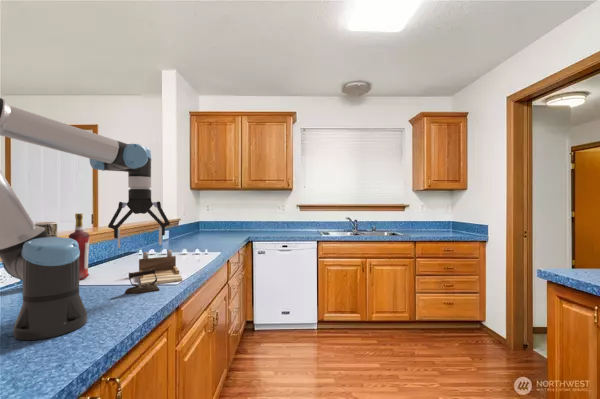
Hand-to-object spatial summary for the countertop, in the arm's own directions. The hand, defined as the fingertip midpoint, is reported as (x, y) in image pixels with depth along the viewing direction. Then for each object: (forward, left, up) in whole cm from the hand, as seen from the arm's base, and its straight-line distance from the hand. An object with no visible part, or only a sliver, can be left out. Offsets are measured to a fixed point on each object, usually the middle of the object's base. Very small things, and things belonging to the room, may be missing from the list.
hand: (140, 245), depth 114 cm
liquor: (+33, +22, -17) cm, 43 cm away
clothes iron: (0, 0, -17) cm, 17 cm away
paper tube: (+27, +32, -17) cm, 45 cm away
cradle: (+17, -8, -17) cm, 25 cm away
